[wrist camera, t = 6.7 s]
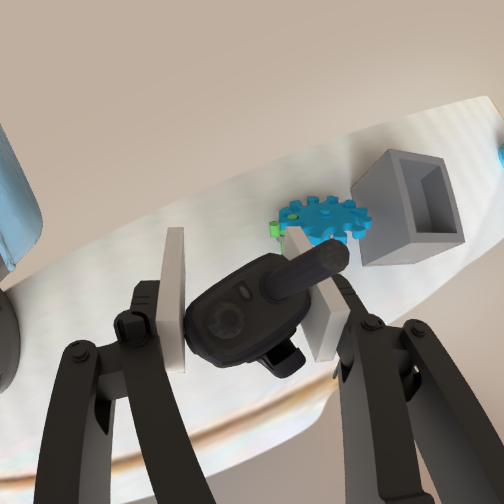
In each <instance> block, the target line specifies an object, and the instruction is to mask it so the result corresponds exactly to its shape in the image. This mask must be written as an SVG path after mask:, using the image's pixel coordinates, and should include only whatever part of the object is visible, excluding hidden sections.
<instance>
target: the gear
mask: <svg viewBox="0 0 504 504" xmlns="http://www.w3.org/2000/svg"><path fill="white" fill-rule="evenodd" d="M292 211H295V212H292ZM367 215H368V210H367V208H366V207H359V208H356V202H354V201H353V200H346V201H345V202H343V203H338V198H337V197H333V196H329V197H327V200H326V201H325V202H323V203H320V204H319V198H318V197H308V206H306V207H303V206H302V204H301V201H299V200H298V201H293V202H290V209H289V208H283V209H281V210H280V211H279V218H280V219H279V222H277V221H273V222H270V223H269V227H270V236H271V237H274V238H275V237H277V240H278V241H279V242H281V244H282V252H283V245H284V237H285V230H286V226H300V227H301V229H302V230H303V232H304V233H305V235H306V237H307V238H308V239H309V241H310V243H311V244H313V245H318V244H320V243H322V242H324V241H326V240H329V239H330V235H332V234H333V239H336V240H340V241H341V242H343V243H344V244H346V243H347V234H346V233H345V232H344V231H345V230H349V231H352V236H353V238H355V239H360V238H363V237H365V233H366V229H369V228H370V227H371V226H372V217H368V216H367ZM357 224H359V225H357Z"/></svg>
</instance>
